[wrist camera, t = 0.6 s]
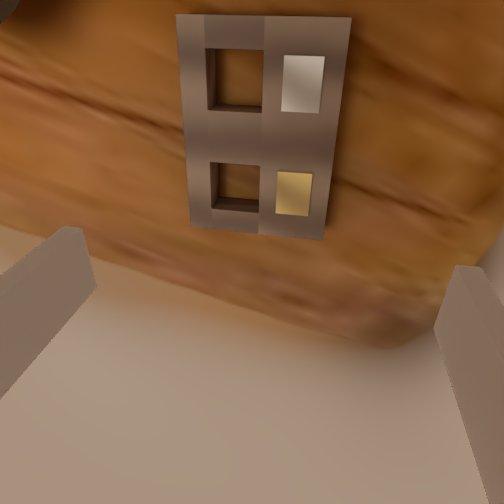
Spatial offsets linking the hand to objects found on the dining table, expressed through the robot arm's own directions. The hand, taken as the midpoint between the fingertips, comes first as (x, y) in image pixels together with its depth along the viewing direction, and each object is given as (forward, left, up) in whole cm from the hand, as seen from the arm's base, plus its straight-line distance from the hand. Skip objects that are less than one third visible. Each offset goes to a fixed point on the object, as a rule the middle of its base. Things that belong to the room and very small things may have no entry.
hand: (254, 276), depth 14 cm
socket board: (+1, -3, -24) cm, 24 cm away
